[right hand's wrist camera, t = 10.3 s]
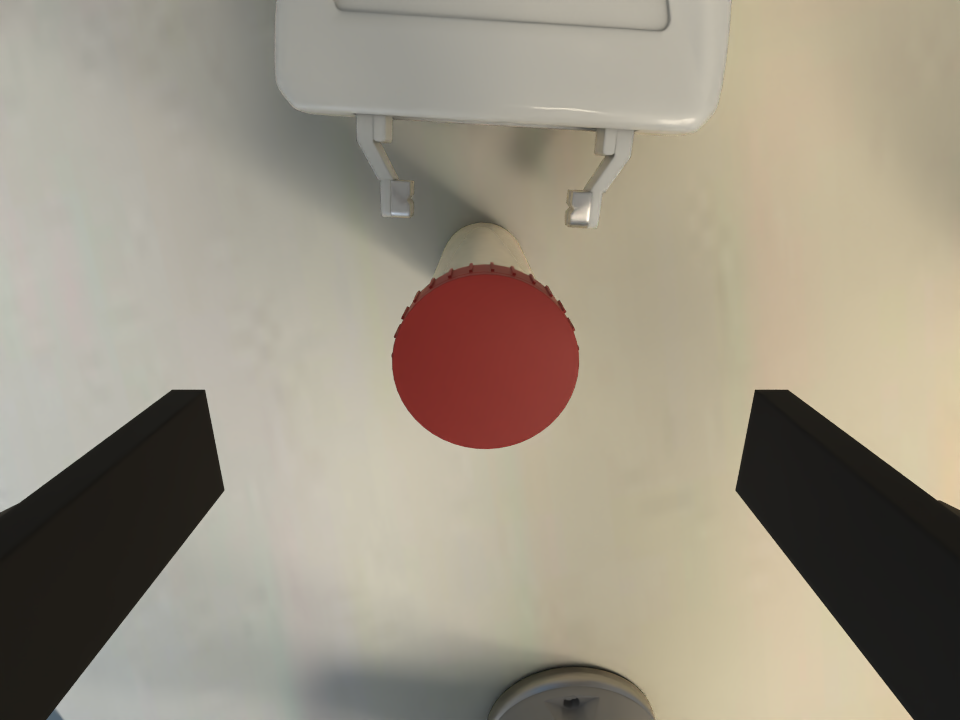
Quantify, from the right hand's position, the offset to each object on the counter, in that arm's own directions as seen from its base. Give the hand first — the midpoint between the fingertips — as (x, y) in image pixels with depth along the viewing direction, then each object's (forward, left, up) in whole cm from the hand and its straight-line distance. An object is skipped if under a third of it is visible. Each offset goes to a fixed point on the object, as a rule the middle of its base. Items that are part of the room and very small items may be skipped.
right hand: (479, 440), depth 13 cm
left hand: (+2, -3, -17) cm, 17 cm away
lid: (0, 0, -5) cm, 5 cm away
